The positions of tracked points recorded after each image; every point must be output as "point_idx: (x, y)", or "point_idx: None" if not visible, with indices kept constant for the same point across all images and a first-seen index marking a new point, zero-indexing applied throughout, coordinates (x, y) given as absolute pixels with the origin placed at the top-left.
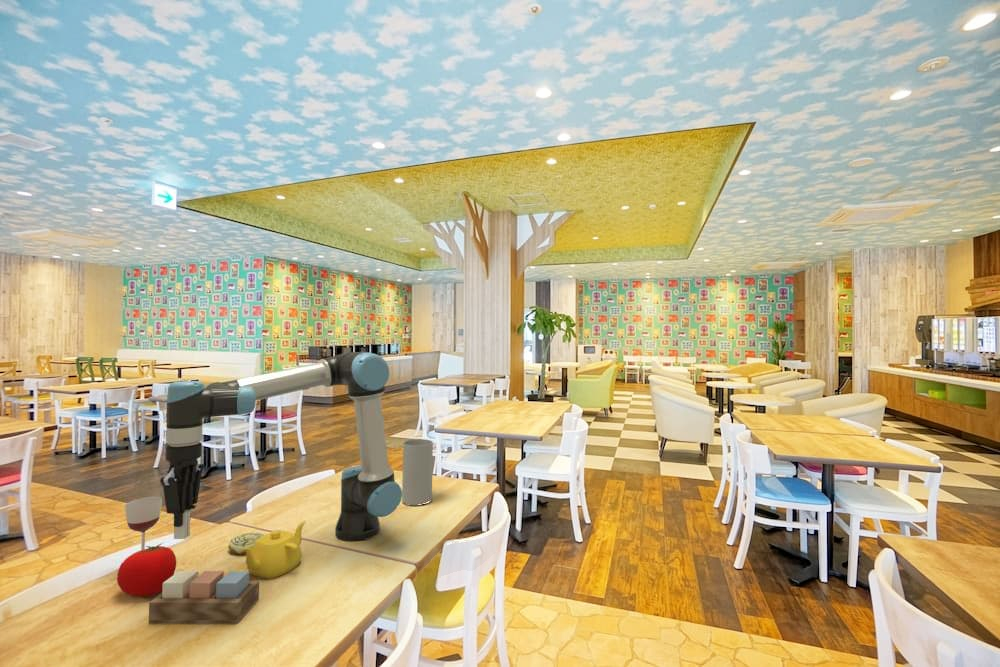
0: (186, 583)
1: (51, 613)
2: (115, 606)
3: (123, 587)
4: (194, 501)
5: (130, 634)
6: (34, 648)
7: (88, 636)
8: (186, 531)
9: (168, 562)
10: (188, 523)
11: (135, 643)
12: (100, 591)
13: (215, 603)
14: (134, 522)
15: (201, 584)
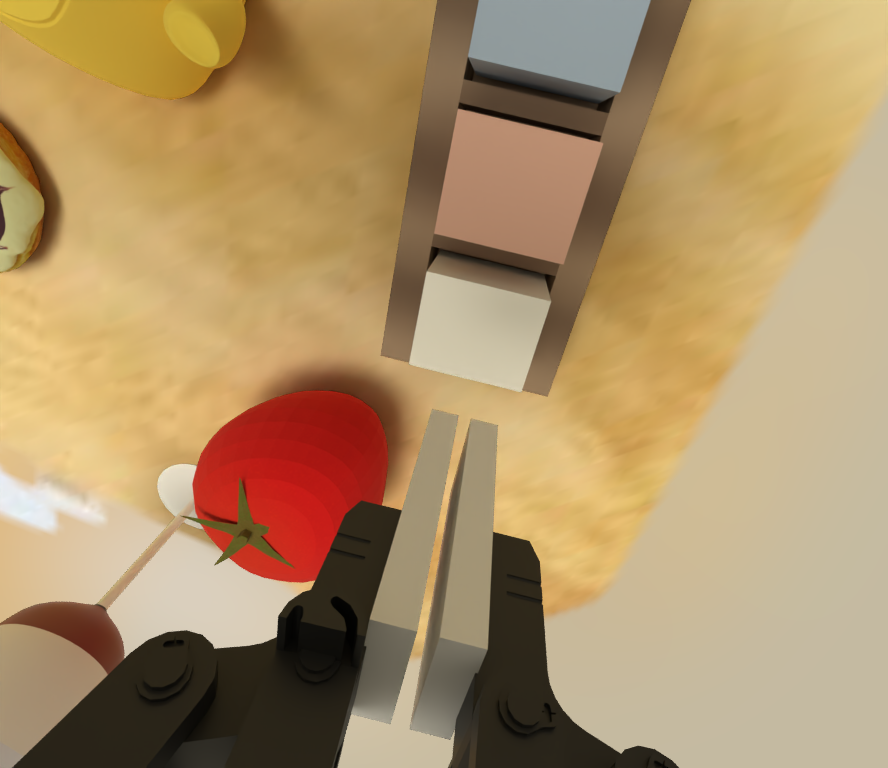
0: (518, 289)
1: None
2: (408, 487)
3: None
4: (201, 697)
5: (592, 390)
6: (576, 573)
7: (560, 490)
8: (475, 453)
9: (304, 437)
10: (439, 492)
11: (657, 355)
12: None
13: (659, 83)
14: None
15: (586, 194)
